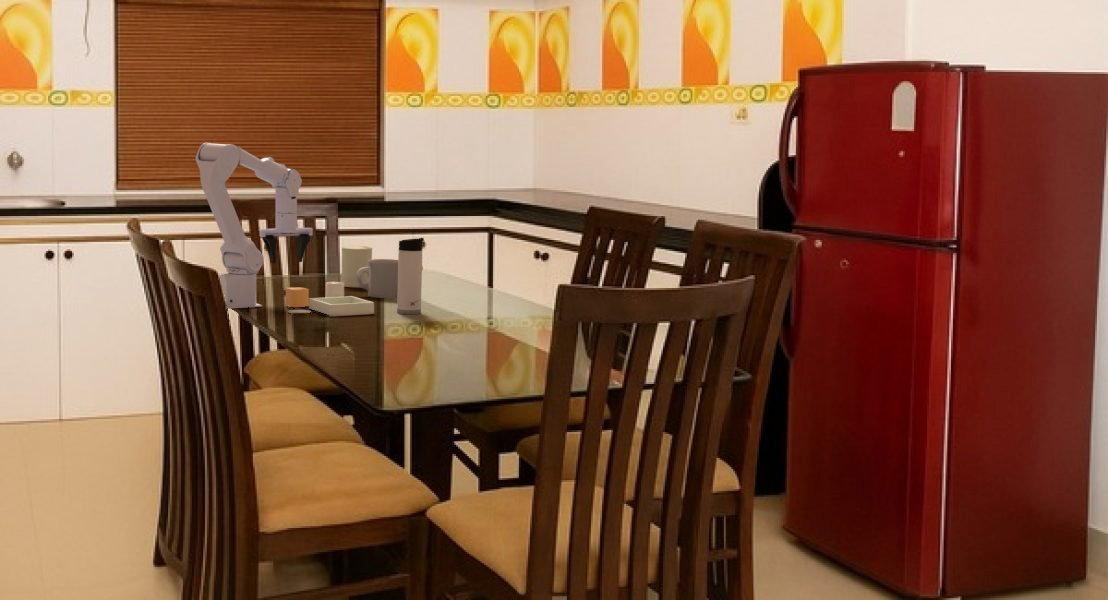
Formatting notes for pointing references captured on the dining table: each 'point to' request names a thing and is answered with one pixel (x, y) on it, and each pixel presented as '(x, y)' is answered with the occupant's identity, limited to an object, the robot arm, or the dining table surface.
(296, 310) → the grey flat disc
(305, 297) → the block
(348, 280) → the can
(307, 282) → the dining table surface
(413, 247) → the travel mug
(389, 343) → the dining table surface
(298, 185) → the robot arm
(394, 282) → the coffee mug
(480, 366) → the dining table surface
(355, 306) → the tray
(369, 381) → the dining table surface
